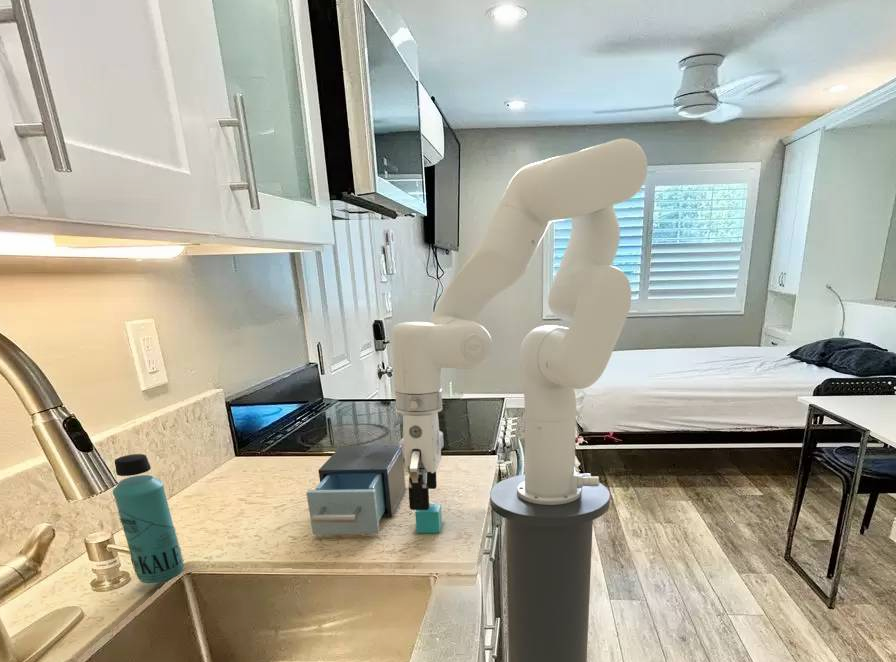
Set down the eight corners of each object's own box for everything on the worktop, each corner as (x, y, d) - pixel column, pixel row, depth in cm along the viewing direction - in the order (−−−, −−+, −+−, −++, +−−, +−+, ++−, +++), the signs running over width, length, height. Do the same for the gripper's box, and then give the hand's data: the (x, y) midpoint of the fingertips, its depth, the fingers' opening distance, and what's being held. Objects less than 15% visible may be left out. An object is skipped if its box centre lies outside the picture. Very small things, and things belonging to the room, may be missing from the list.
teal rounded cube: (442, 523, 103) (440, 502, 102) (439, 532, 100) (438, 512, 98) (420, 523, 104) (418, 503, 102) (416, 533, 100) (415, 512, 98)
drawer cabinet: (392, 517, 106) (387, 469, 103) (325, 518, 107) (318, 470, 103) (405, 488, 120) (401, 445, 116) (346, 489, 120) (340, 446, 117)
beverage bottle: (158, 570, 90) (124, 449, 82) (197, 571, 89) (166, 449, 81) (128, 592, 84) (89, 463, 76) (170, 594, 83) (135, 464, 75)
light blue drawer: (371, 546, 93) (366, 503, 91) (303, 547, 94) (295, 504, 91) (393, 503, 110) (389, 465, 108) (335, 503, 111) (330, 465, 108)
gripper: (435, 413, 85) (439, 518, 91) (447, 390, 101) (450, 481, 107) (385, 413, 85) (392, 518, 91) (405, 390, 101) (410, 481, 107)
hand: (423, 498), depth 99 cm, fingers open, 9 cm apart
